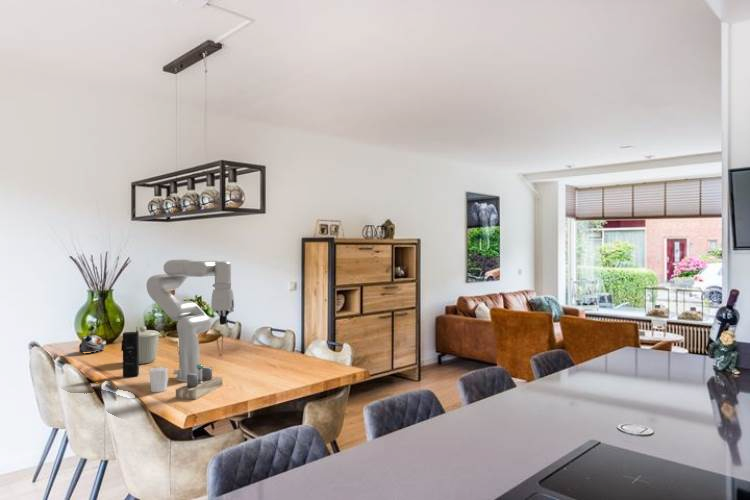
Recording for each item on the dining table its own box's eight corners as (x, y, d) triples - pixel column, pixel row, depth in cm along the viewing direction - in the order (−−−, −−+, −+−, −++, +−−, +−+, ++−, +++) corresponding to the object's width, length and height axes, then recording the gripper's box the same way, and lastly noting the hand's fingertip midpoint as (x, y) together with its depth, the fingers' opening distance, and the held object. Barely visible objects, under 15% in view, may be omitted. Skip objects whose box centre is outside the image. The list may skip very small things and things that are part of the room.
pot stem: (195, 383, 222) (195, 365, 222) (198, 381, 225) (198, 364, 225) (201, 383, 222) (200, 366, 222) (204, 382, 225) (204, 364, 225)
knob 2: (200, 388, 228) (200, 368, 228) (205, 386, 232) (205, 366, 232) (208, 389, 227) (208, 368, 227) (213, 386, 231) (213, 366, 231)
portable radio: (120, 378, 248) (119, 329, 248) (123, 375, 254) (122, 327, 254) (137, 376, 250) (136, 328, 250) (139, 373, 256) (139, 326, 256)
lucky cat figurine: (106, 349, 321) (110, 331, 316) (100, 360, 310) (104, 342, 305) (81, 344, 316) (85, 326, 312) (74, 355, 305) (78, 337, 301)
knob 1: (185, 396, 216) (185, 375, 216) (190, 393, 220) (190, 372, 220) (194, 396, 215) (193, 375, 215) (199, 393, 219) (199, 373, 219)
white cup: (170, 387, 230) (170, 366, 230) (164, 392, 222) (164, 370, 222) (154, 388, 230) (153, 367, 230) (146, 393, 222) (146, 371, 222)
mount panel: (175, 398, 214) (175, 389, 214) (203, 384, 235) (203, 376, 235) (196, 399, 212) (195, 390, 212) (222, 385, 233) (222, 377, 233)
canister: (159, 364, 278) (159, 327, 277) (124, 367, 271) (123, 329, 271) (160, 357, 294) (160, 323, 294) (127, 360, 288) (127, 325, 288)
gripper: (204, 287, 234) (205, 325, 234) (233, 287, 231) (233, 325, 231) (213, 285, 241) (213, 322, 241) (240, 286, 238) (241, 323, 238)
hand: (223, 324), depth 236 cm, fingers closed
